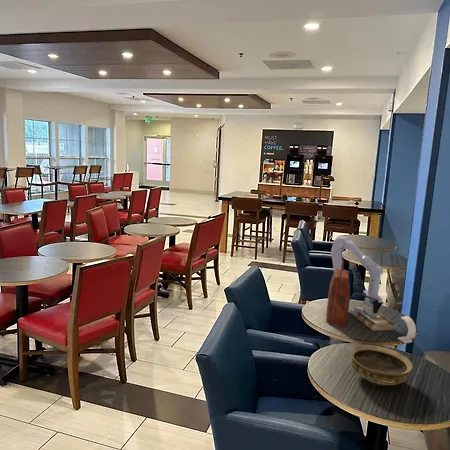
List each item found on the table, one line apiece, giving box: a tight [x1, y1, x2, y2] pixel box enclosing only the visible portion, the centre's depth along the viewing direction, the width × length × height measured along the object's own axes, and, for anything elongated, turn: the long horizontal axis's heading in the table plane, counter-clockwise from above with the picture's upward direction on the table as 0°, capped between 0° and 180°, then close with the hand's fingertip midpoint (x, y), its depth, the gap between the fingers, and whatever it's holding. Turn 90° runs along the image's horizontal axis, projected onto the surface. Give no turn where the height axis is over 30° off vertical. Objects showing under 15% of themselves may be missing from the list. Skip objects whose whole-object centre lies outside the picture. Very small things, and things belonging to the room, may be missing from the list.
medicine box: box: [362, 298, 379, 317], centre depth 229 cm, size 8×4×9 cm, turn 13°
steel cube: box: [353, 306, 364, 314], centre depth 236 cm, size 4×4×4 cm
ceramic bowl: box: [349, 344, 413, 387], centre depth 165 cm, size 30×24×10 cm
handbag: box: [325, 258, 351, 328], centre depth 225 cm, size 10×19×35 cm, turn 166°
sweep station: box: [349, 309, 394, 331], centre depth 228 cm, size 24×12×4 cm, turn 11°
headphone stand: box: [397, 315, 417, 344], centre depth 205 cm, size 5×6×12 cm
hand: (370, 310), depth 229 cm, fingers closed on medicine box, 7 cm apart
